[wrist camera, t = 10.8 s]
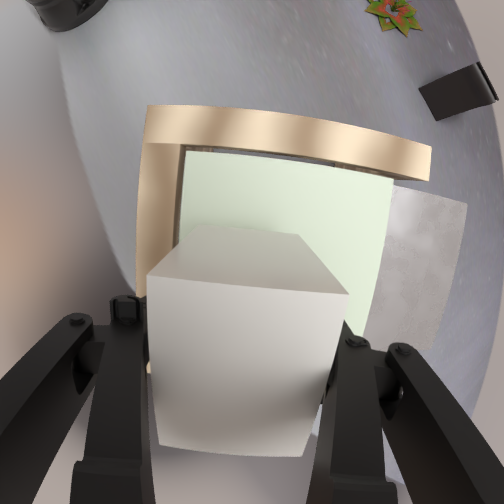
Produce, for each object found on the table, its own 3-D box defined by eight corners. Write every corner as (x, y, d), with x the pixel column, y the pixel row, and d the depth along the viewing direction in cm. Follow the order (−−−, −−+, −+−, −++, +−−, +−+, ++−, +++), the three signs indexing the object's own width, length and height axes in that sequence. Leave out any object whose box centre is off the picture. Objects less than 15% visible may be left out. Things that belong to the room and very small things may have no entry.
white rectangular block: (193, 335, 18) (159, 444, 9) (199, 224, 16) (146, 275, 8) (281, 344, 18) (301, 456, 10) (298, 234, 17) (349, 294, 8)
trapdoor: (437, 194, 27) (471, 199, 22) (407, 330, 31) (431, 355, 25) (199, 156, 26) (186, 150, 21) (188, 317, 30) (176, 346, 24)
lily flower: (377, 41, 35) (388, 30, 31) (347, -13, 33) (355, -27, 28) (430, 39, 35) (443, 30, 30) (402, -12, 32) (412, -23, 27)
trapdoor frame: (181, 295, 44) (141, 371, 25) (192, 137, 39) (147, 105, 20) (331, 309, 45) (377, 386, 26) (355, 158, 40) (431, 146, 21)
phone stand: (449, 73, 36) (491, 56, 24) (465, 104, 37) (510, 93, 25) (417, 88, 37) (460, 69, 25) (435, 121, 38) (482, 110, 26)
